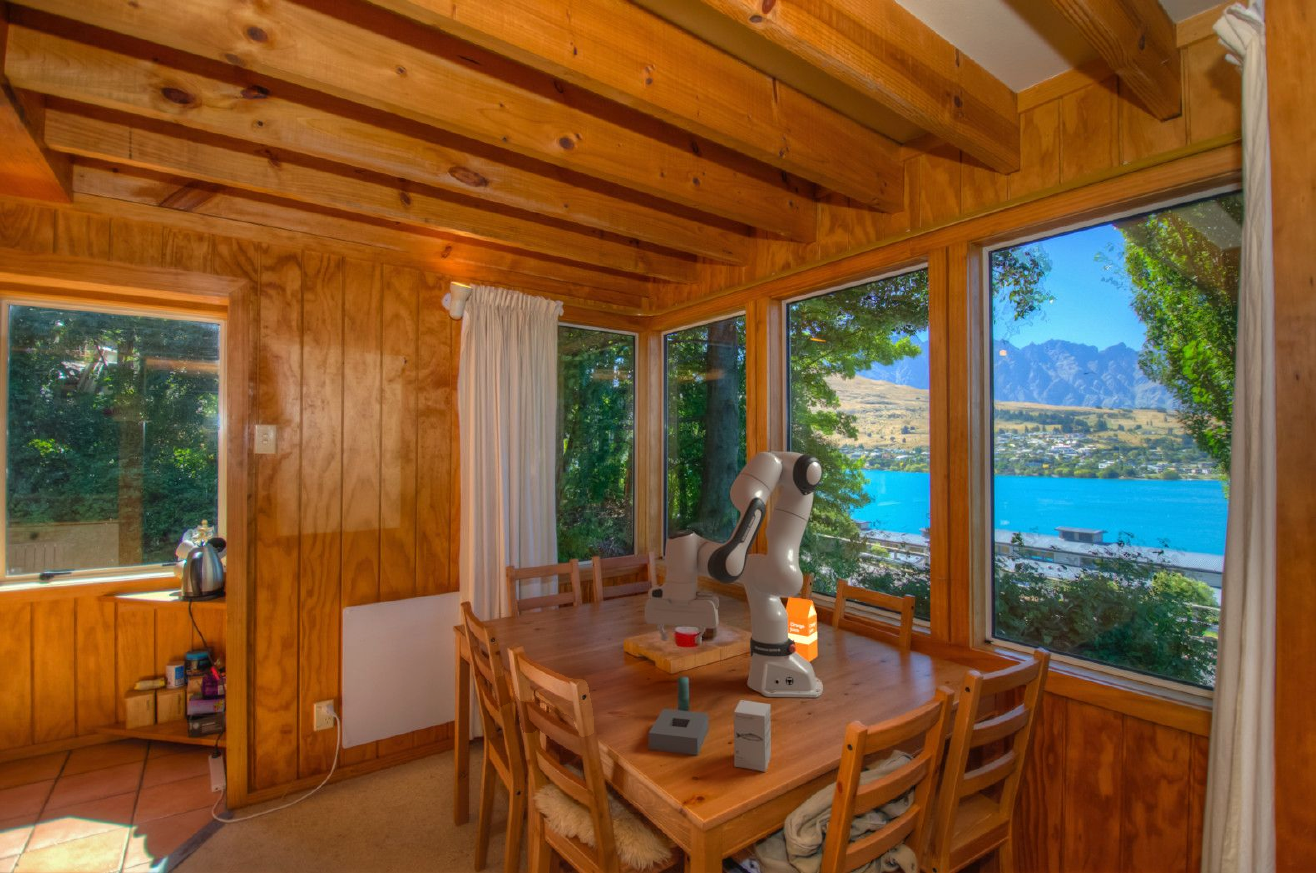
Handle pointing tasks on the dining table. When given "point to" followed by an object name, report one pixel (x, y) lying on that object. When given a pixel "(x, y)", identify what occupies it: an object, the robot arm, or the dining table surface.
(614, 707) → the dining table surface
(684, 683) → the teal peg
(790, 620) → the orange juice
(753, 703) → the supplement box
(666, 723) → the hole block
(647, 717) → the dining table surface
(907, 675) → the dining table surface
